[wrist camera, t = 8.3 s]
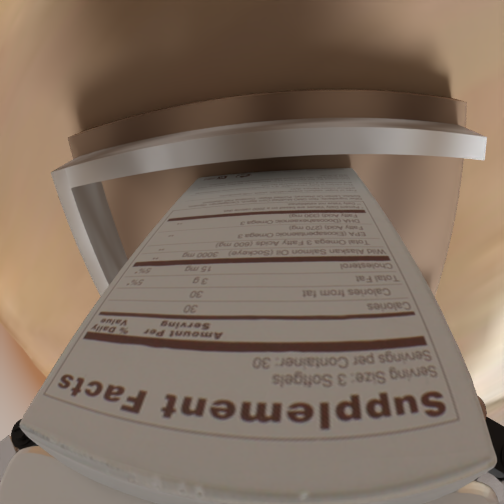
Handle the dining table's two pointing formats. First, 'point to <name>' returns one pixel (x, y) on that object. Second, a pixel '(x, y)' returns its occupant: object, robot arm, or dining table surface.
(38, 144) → the dining table surface
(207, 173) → the board
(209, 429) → the supplement box
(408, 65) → the dining table surface
